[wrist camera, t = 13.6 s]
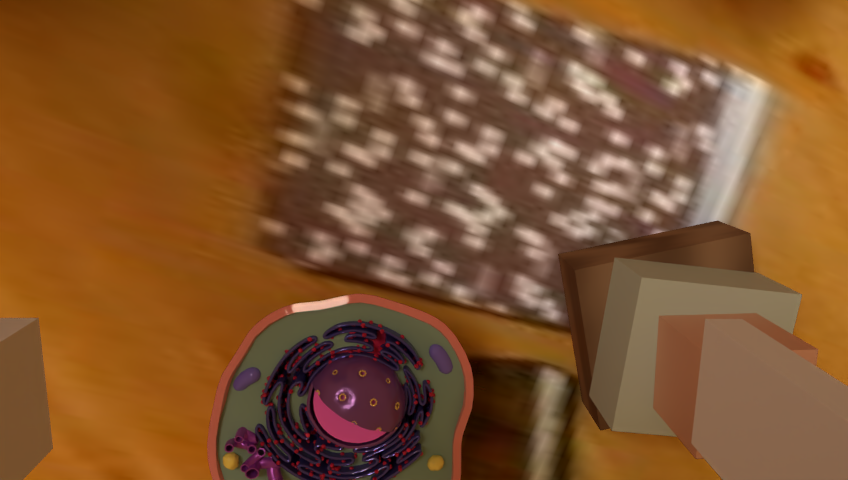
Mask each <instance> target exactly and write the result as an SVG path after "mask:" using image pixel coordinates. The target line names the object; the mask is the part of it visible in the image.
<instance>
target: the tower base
mask: <svg viewBox="0 0 848 480" xmlns="http://www.w3.org/2000/svg"><path fill="white" fill-rule="evenodd" d="M558 256H559V262H560V268H561V274H562V281H563V287H564V293H565V299H566V305H567V311H568V317H569V323H570V329H571V335H572V341H573V348H574V354H575V360H576V366H577V372H578V378H579V384H580V390H581V396H582V402H583V403H584V405H585V406H586V408H587V410H588V411H589V413H590V415H591V416H592V418H593V419H594V421H595V423H596V424H597V426H598V427H599V429H600V430H604V429H609V428H610V427H609V426H608V424H607V422H606V421H605V419H604V418H603V416H602V415H601V413H600V412H599V410H598V409H597V407H596V405H595V404H594V402H593V401H592V399H591V398H590V396H589V393H590V388H591V382H592V377H593V372H594V366H595V361H596V356H597V350H598V345H599V339H600V334H601V329H602V323H603V318H604V312H605V307H606V301H607V296H608V291H609V285H610V280H611V274H612V269H613V264H614V258H625V259H634V260H643V261H652V262H661V263H671V264H680V265H689V266H698V267H707V268H717V269H726V270H735V271H744V272H753V273H754V267H753V257H752V246H751V236H750V233H748V232H746V231H743V230H740V229H738V228H735V227H733V226H730V225H727V224H725V223H722V222H720V221H714V222H709V223H704V224H700V225H695V226H690V227H685V228H681V229H676V230H671V231H666V232H662V233H657V234H652V235H647V236H642V237H638V238H633V239H628V240H623V241H619V242H614V243H609V244H604V245H600V246H595V247H590V248H585V249H580V250H576V251H571V252H566V253H561V254H558Z"/></svg>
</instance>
